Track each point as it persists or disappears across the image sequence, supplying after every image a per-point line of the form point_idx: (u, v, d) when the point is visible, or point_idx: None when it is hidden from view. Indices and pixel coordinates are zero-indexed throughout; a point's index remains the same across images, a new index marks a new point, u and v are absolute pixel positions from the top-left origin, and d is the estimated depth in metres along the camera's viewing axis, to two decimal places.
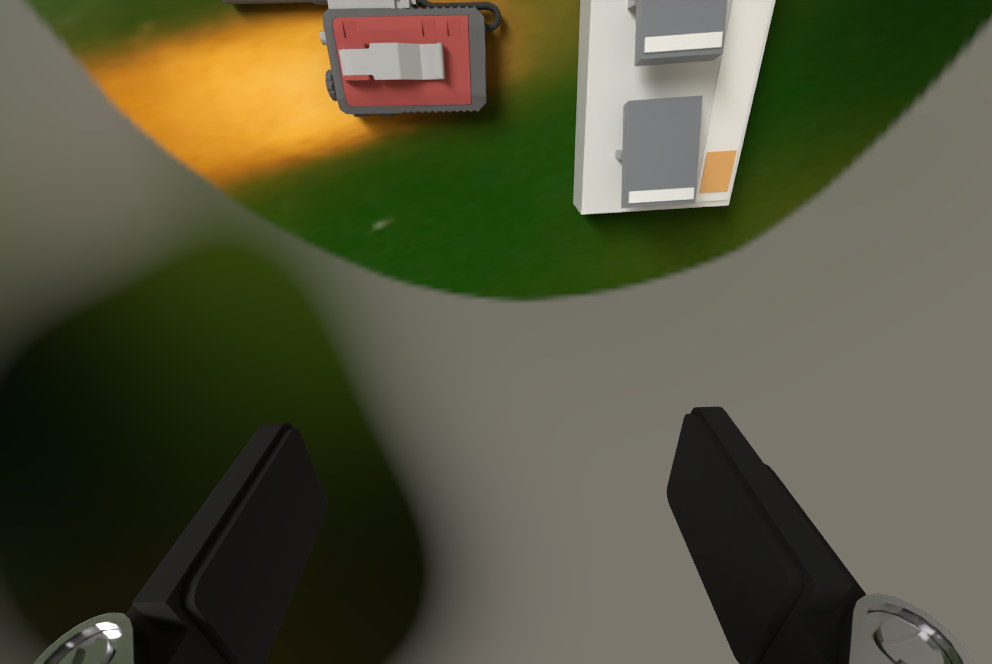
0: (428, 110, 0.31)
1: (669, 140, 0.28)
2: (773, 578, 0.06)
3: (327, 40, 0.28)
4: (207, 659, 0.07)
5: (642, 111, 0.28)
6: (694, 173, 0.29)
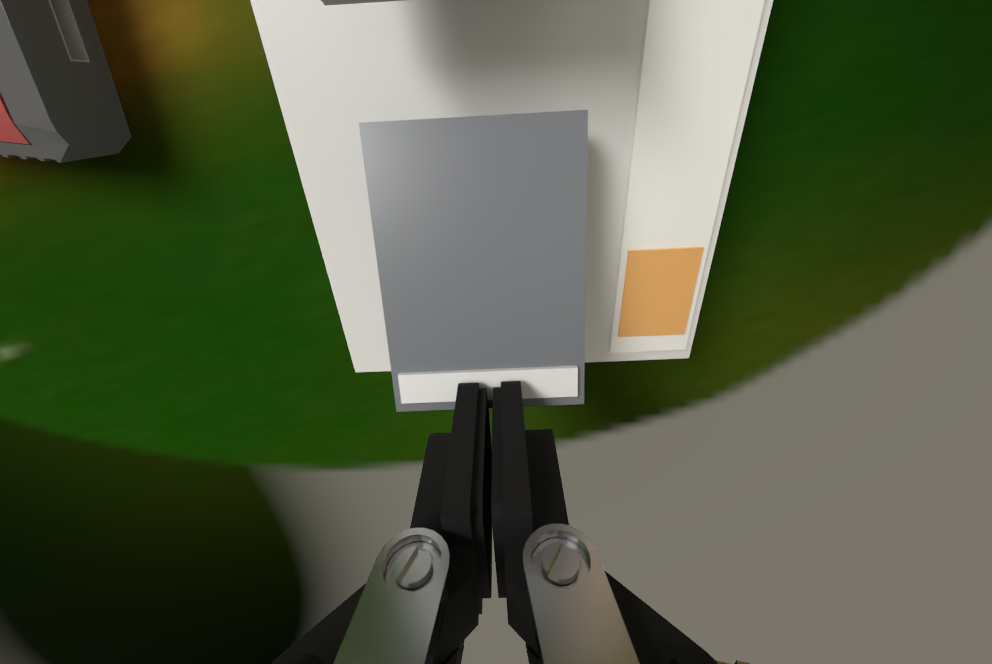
0: None
1: (496, 240, 0.09)
2: None
3: None
4: (475, 575, 0.08)
5: (406, 155, 0.09)
6: (578, 330, 0.10)
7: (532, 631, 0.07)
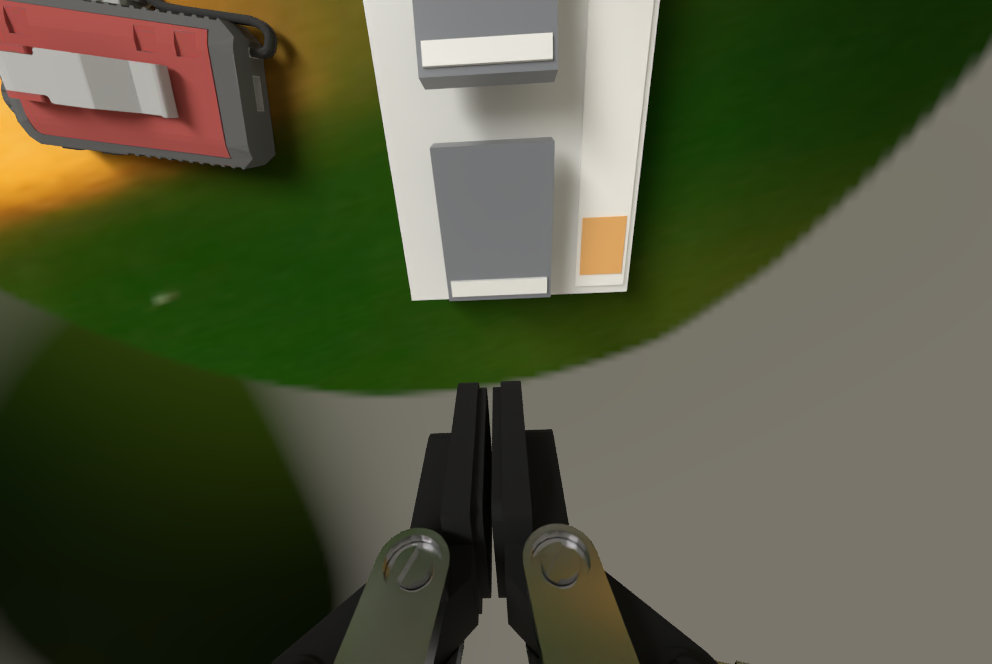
0: (167, 157, 0.21)
1: (504, 210, 0.17)
2: None
3: None
4: (475, 575, 0.08)
5: (455, 165, 0.16)
6: (547, 258, 0.19)
7: (532, 631, 0.07)
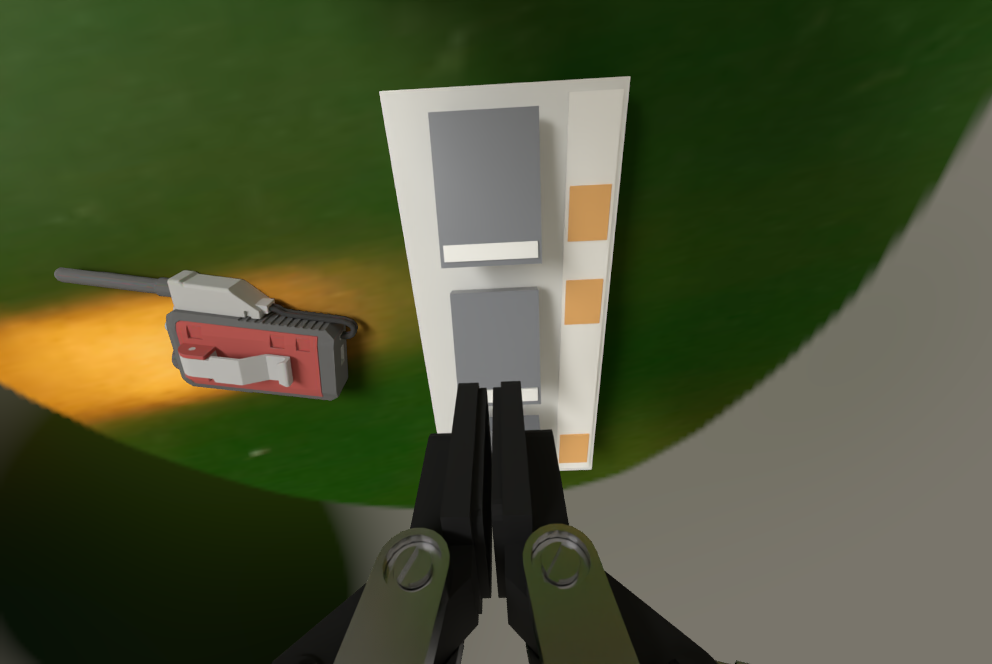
0: (279, 394, 0.31)
1: None
2: None
3: (170, 336, 0.28)
4: (475, 575, 0.08)
5: None
6: None
7: (532, 631, 0.07)
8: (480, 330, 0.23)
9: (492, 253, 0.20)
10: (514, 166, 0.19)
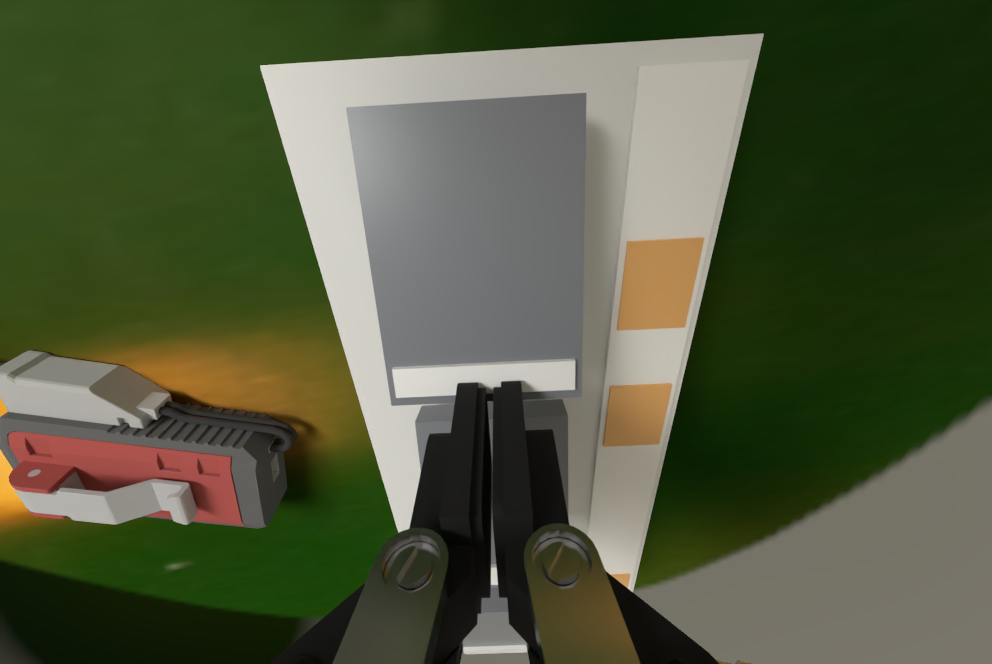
0: None
1: None
2: None
3: (3, 451, 0.18)
4: (474, 575, 0.08)
5: None
6: None
7: (533, 631, 0.07)
8: None
9: (488, 382, 0.10)
10: (531, 220, 0.09)
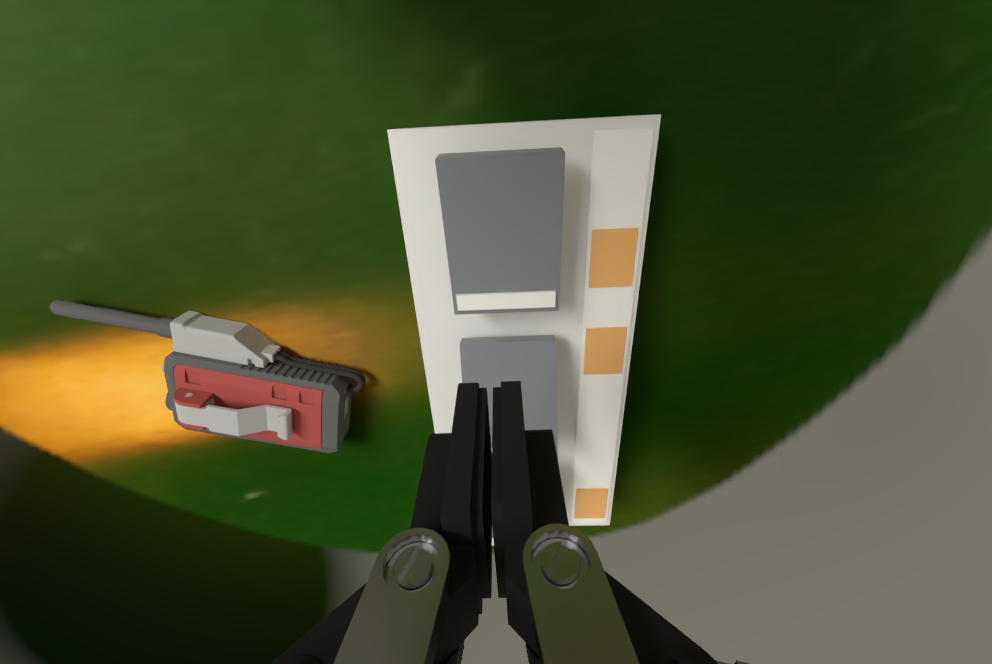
0: (276, 443, 0.29)
1: None
2: None
3: (167, 379, 0.26)
4: (475, 575, 0.08)
5: None
6: None
7: (532, 631, 0.07)
8: (492, 383, 0.21)
9: (508, 303, 0.19)
10: (533, 218, 0.17)
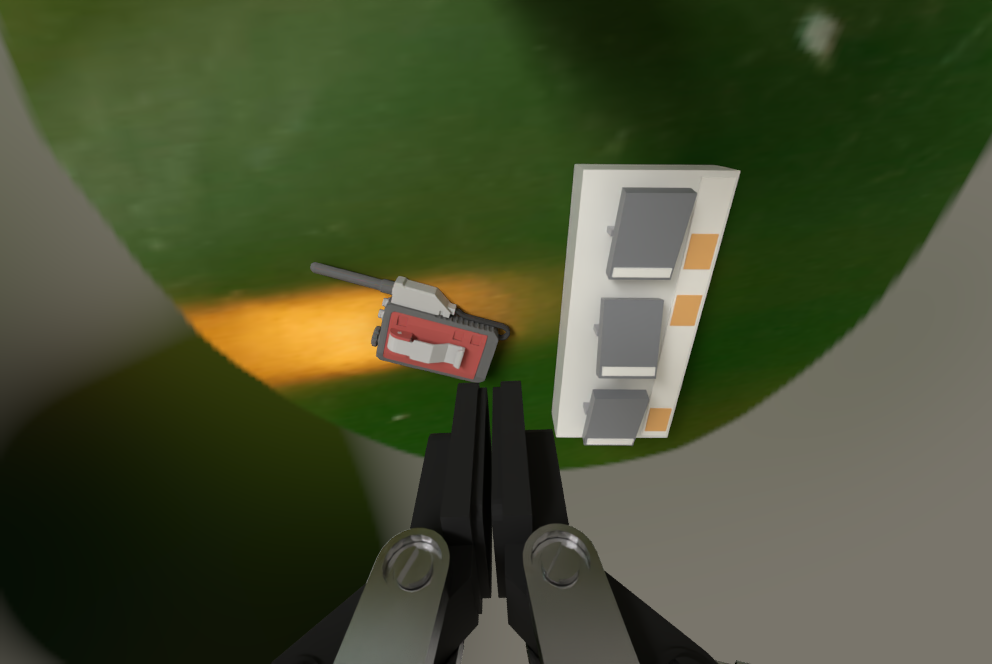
0: (441, 373, 0.42)
1: (620, 417, 0.38)
2: None
3: (383, 321, 0.38)
4: (475, 575, 0.08)
5: (604, 404, 0.37)
6: (635, 433, 0.40)
7: (532, 631, 0.07)
8: (621, 325, 0.34)
9: (643, 274, 0.32)
10: (671, 226, 0.30)
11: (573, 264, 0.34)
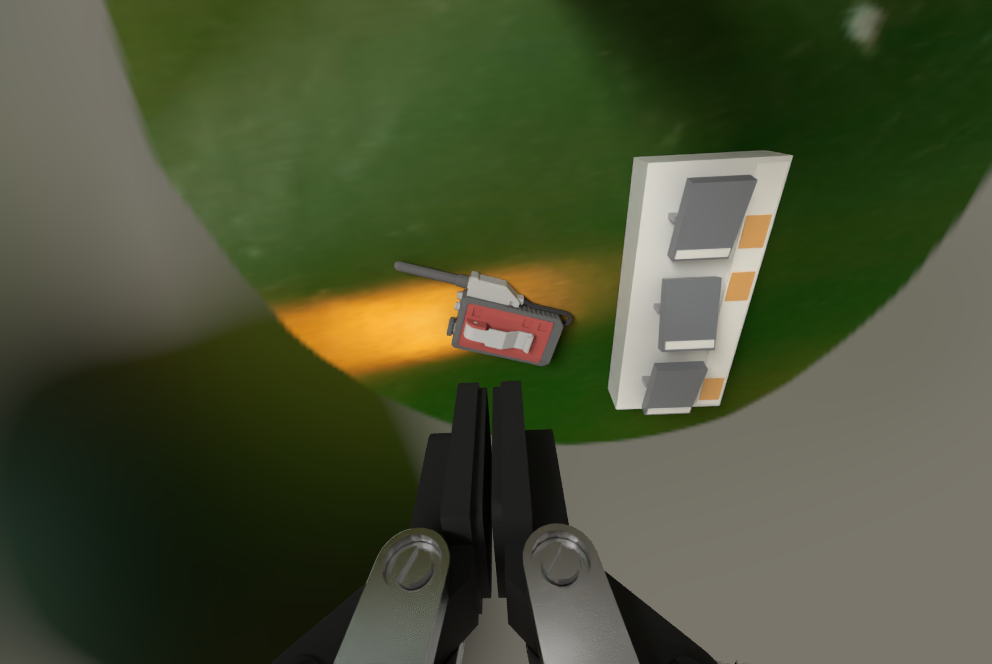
0: (509, 358, 0.46)
1: (680, 388, 0.42)
2: None
3: (460, 313, 0.42)
4: (475, 575, 0.08)
5: (666, 375, 0.41)
6: (693, 401, 0.43)
7: (532, 631, 0.07)
8: (682, 303, 0.38)
9: (703, 255, 0.35)
10: (731, 211, 0.33)
11: (636, 249, 0.38)
